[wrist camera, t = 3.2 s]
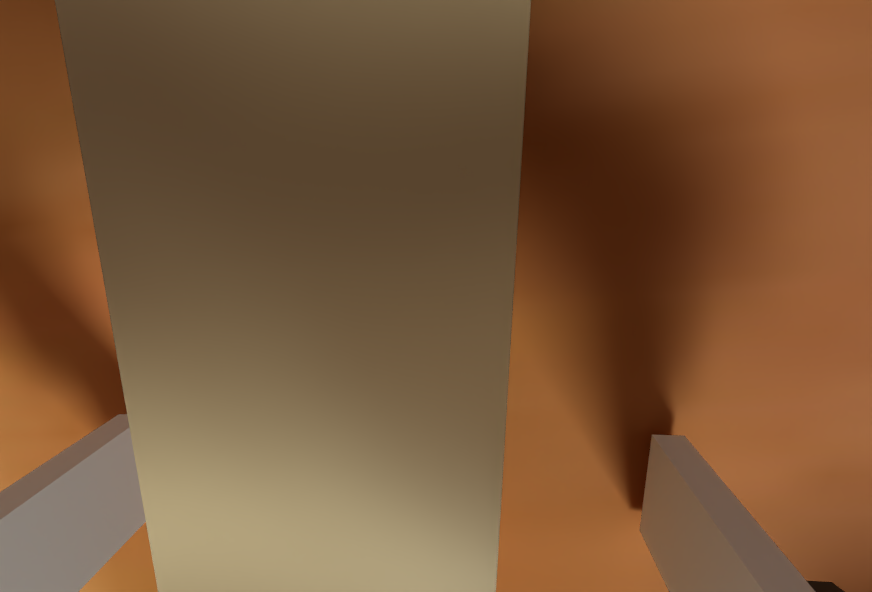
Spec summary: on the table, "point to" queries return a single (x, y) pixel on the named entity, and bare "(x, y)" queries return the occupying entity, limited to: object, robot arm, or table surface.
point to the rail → (308, 279)
